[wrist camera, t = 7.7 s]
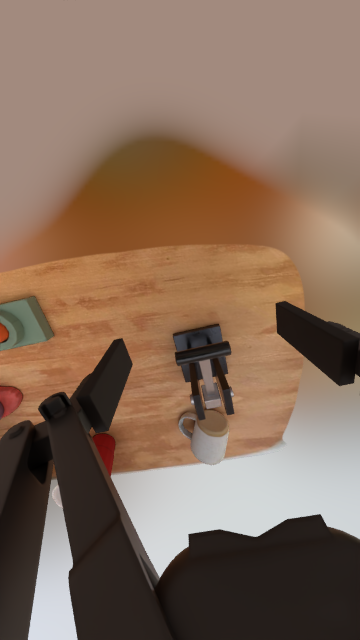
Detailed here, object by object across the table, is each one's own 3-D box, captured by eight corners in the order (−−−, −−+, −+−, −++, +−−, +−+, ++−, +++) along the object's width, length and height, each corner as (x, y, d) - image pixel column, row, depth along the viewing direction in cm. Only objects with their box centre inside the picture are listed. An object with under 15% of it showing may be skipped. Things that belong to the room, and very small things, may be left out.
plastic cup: (77, 424, 44) (43, 484, 33) (123, 425, 45) (105, 485, 33) (83, 456, 48) (54, 519, 37) (125, 456, 48) (110, 519, 37)
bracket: (172, 333, 36) (171, 379, 23) (218, 323, 36) (242, 364, 23) (185, 379, 40) (189, 440, 27) (226, 370, 40) (251, 428, 27)
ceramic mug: (226, 407, 43) (235, 439, 36) (220, 433, 46) (227, 467, 39) (180, 404, 43) (180, 435, 36) (177, 430, 46) (176, 464, 38)
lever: (173, 345, 20) (176, 365, 18) (225, 334, 19) (233, 353, 17) (192, 395, 29) (195, 411, 27) (228, 388, 28) (233, 404, 27)
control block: (34, 296, 33) (16, 301, 30) (54, 335, 36) (40, 345, 32) (-27, 310, 34) (-52, 317, 30) (-3, 348, 37) (-23, 359, 33)
